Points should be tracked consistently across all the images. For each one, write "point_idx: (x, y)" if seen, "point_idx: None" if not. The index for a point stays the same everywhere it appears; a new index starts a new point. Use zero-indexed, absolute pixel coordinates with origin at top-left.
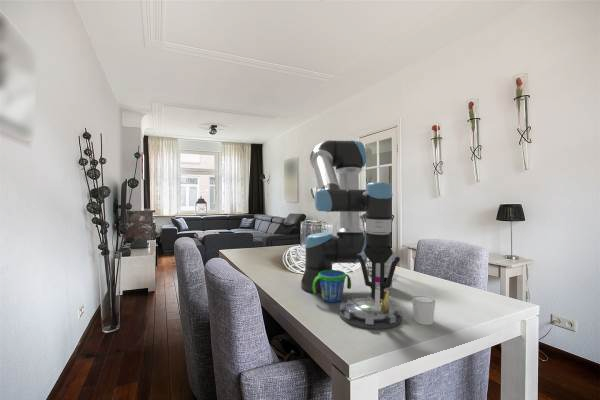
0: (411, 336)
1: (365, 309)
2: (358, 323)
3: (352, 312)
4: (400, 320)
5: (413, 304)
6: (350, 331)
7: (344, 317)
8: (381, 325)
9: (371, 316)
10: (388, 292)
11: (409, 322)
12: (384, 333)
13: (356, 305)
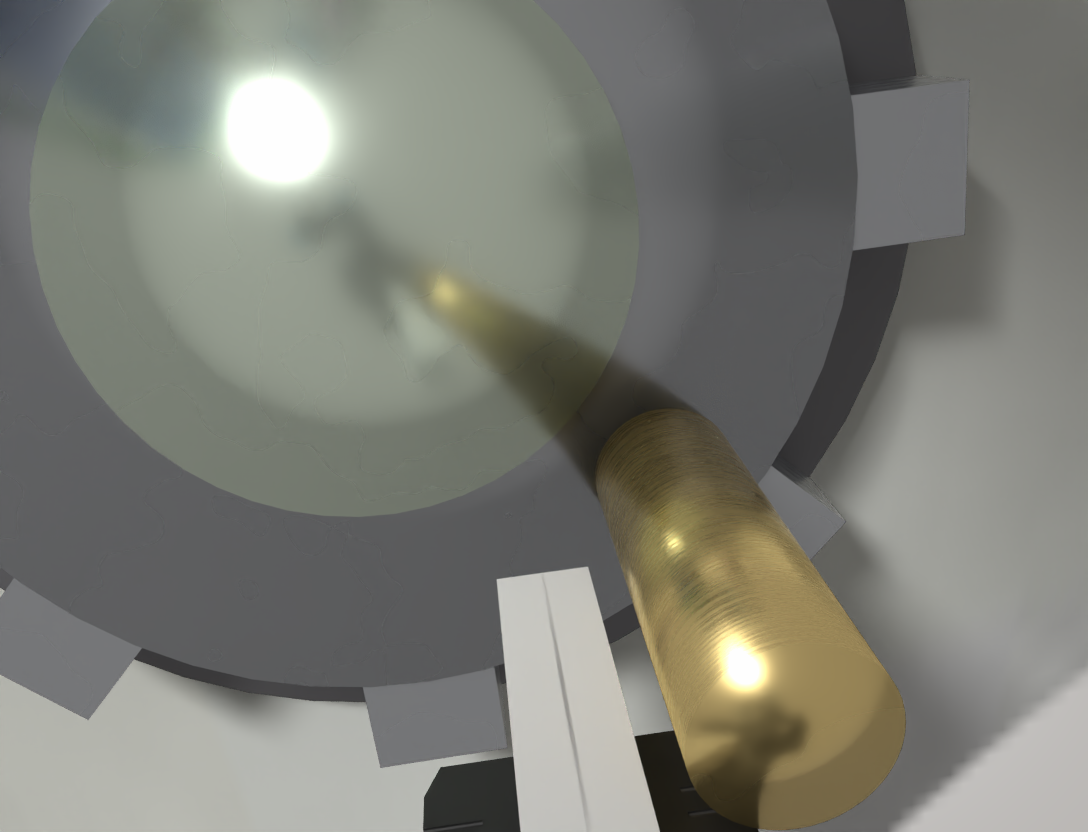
0: (964, 646)
1: (306, 489)
2: (280, 687)
3: (116, 659)
4: (884, 321)
5: None
6: (227, 808)
7: (5, 574)
8: (605, 620)
9: (460, 682)
10: (876, 765)
11: (1008, 217)
12: (644, 697)
13: (75, 353)
